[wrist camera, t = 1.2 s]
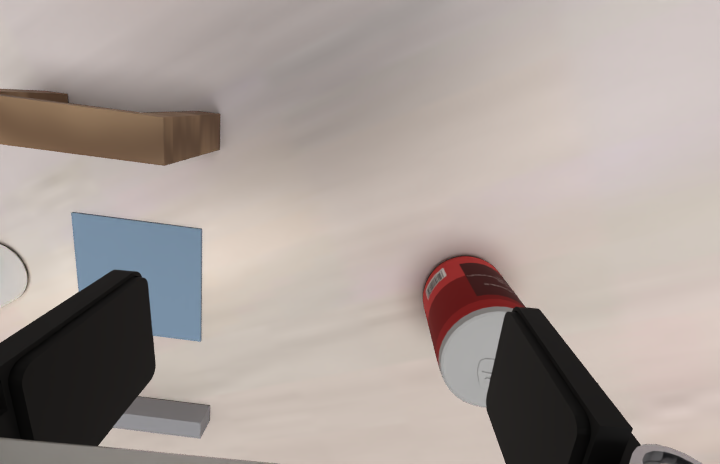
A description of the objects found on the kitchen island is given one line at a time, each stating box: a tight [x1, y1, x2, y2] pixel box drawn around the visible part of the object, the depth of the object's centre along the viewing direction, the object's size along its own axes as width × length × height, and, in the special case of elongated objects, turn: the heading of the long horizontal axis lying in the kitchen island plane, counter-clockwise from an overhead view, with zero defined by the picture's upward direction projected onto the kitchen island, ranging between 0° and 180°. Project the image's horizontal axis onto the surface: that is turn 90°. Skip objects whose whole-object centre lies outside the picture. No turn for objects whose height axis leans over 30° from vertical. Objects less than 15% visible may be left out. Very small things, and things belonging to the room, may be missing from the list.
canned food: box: [423, 256, 526, 407], centre depth 33 cm, size 8×8×11 cm
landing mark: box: [71, 212, 202, 341], centre depth 39 cm, size 12×12×1 cm
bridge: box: [0, 89, 220, 166], centre depth 30 cm, size 3×15×10 cm, turn 83°
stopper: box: [113, 397, 210, 438], centre depth 42 cm, size 2×14×2 cm, turn 83°
